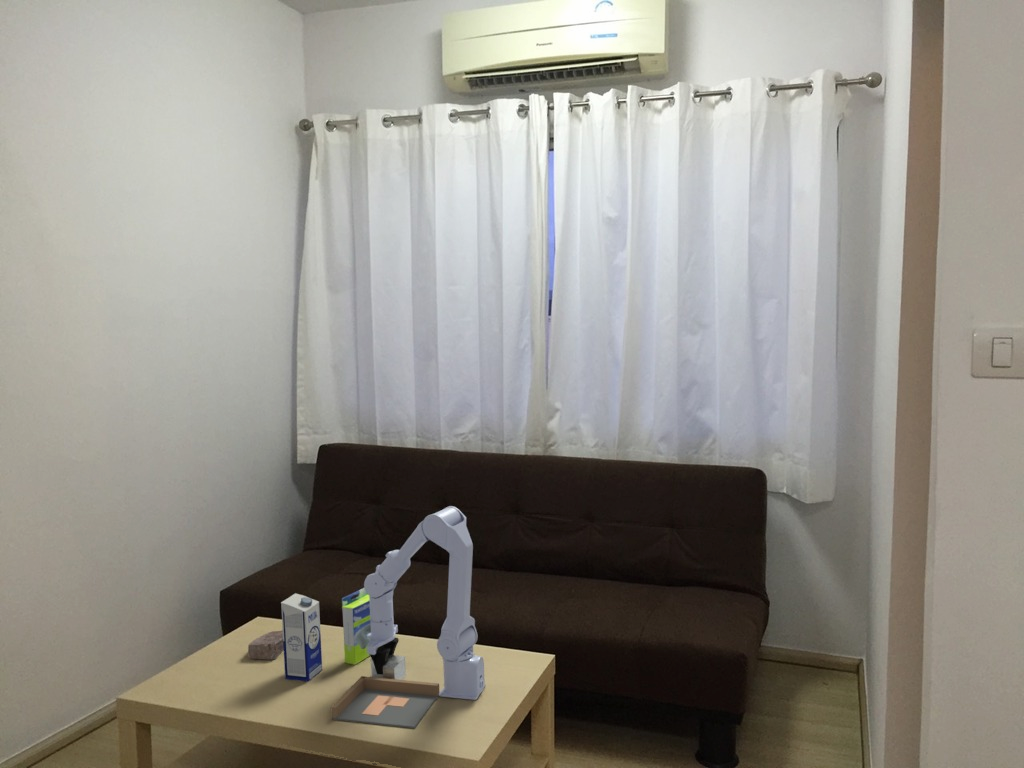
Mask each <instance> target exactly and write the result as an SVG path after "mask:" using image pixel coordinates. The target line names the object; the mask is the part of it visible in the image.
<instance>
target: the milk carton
mask: <svg viewBox="0 0 1024 768" xmlns="http://www.w3.org/2000/svg"><path fill="white" fill-rule="evenodd" d="M280 604H281V607H280V608H281V624H282V630H283V646H284V650H283V663H284V679H286V680H294V681H303V682H310V681H312V679H313V678H314V677H316V676H317V675H318V674H319V673H320V672H322V671H323V659H322V658H323V655H322V654H323V653H322V639H321V637H322V635H321V620H320V618H321V617H320V601H318V600H316V599H313V598H311V597H308V596H306V595H303V594H299V593H296V592H295V593H294V594H292V595H290V596H289V597H288V598H286V599H284V600H282V601H281V602H280ZM321 670H322V671H321Z"/></svg>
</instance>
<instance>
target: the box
mask: <svg viewBox="0 0 1024 768" xmlns="http://www.w3.org/2000/svg"><path fill="white" fill-rule="evenodd" d="M355 595H356V597H354V596H355ZM352 597H354V598H352ZM341 610H342V624H343V625H342V626H343V645H344V648H343V649H344V663H346V664H349V663H350V664H349V665H357V664H358V663H361V662H362V661H363V660H366V659H367V658H369V657H371V656H370V655H369V654H367V646H368V645H369V641H370V639H369V638H367V635H368V634H369V633H371V622H370V600H369V595H368V594H367V593H366V591H365V588H364V587H363V588H361V589H359V590H356V591H355V592H352V593H351V594H348V595H346V596H344V597H342V598H341Z"/></svg>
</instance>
